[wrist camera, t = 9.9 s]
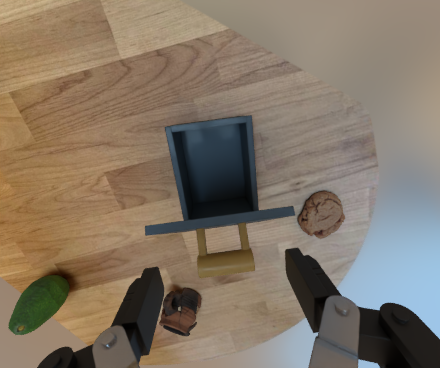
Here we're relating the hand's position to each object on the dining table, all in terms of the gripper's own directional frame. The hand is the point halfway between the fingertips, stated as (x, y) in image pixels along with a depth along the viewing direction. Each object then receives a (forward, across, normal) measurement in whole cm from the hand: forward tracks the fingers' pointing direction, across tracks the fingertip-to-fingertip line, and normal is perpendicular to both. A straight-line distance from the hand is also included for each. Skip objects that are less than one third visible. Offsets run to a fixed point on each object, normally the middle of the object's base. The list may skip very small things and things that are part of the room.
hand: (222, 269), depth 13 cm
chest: (+30, 0, 0) cm, 30 cm away
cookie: (+30, -21, +14) cm, 39 cm away
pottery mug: (+29, +13, +33) cm, 46 cm away
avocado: (+29, +39, +22) cm, 54 cm away
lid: (+13, 0, +4) cm, 13 cm away
